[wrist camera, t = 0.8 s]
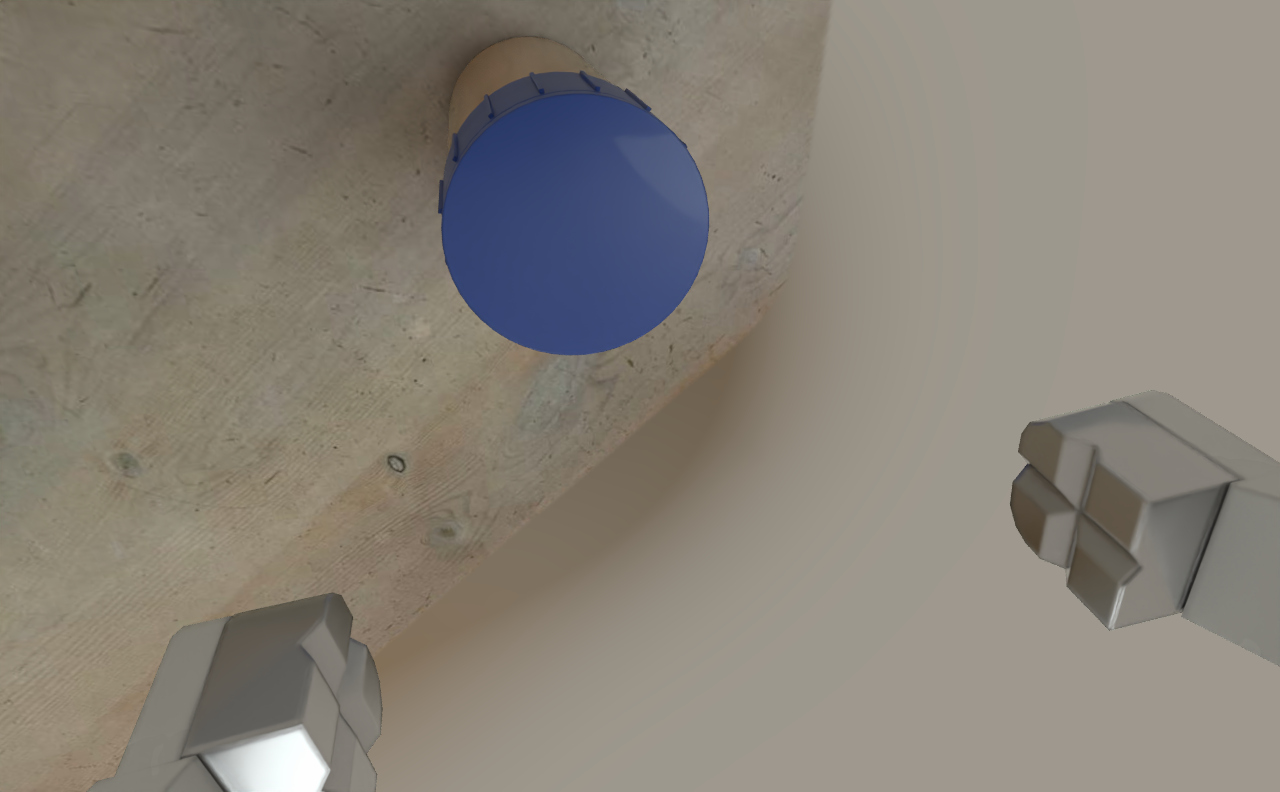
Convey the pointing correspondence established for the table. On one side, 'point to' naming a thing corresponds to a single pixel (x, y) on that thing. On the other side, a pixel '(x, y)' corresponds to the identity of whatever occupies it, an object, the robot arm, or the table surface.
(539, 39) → the jam jar
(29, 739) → the table surface
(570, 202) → the jam lid
